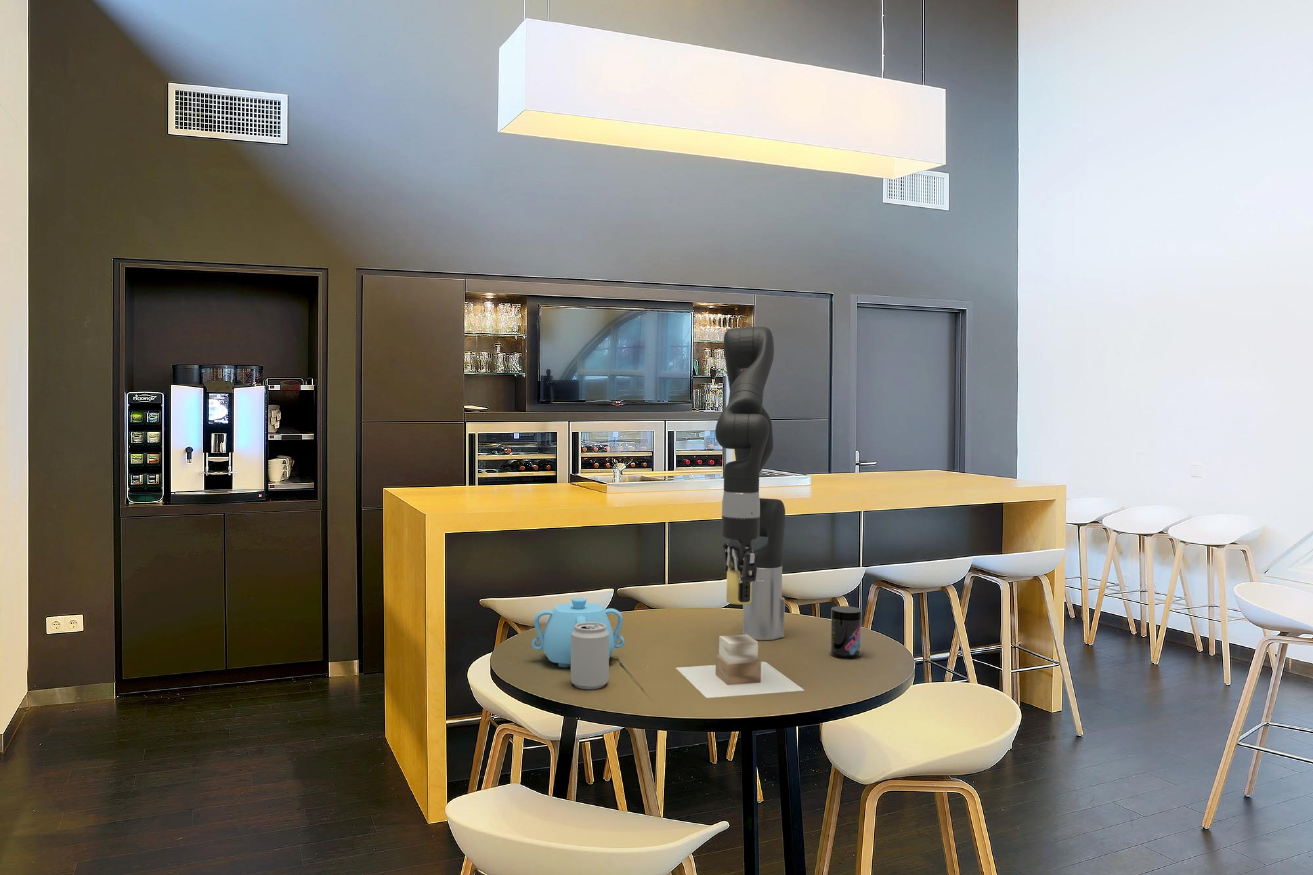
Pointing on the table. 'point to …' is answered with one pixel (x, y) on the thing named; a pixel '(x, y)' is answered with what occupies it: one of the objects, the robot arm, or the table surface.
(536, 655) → the table surface
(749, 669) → the bottom block
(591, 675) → the can
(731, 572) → the cylinder
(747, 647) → the top block
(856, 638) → the supplement container
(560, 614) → the decorative pot
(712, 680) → the board
